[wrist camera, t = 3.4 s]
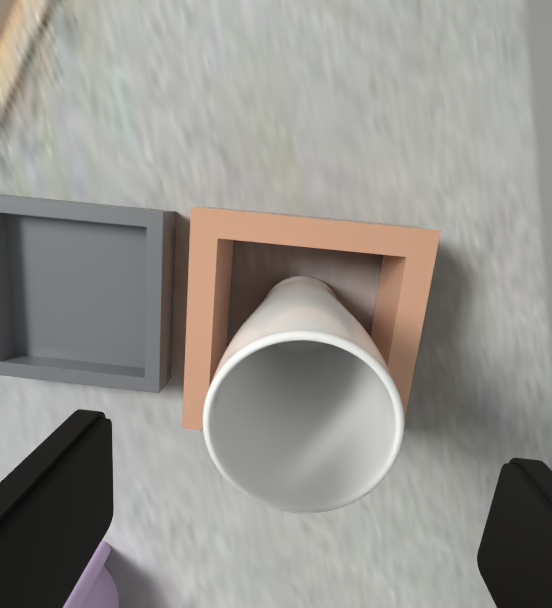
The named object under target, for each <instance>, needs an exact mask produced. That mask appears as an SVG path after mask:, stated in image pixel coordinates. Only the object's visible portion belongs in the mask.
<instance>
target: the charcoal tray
mask: <svg viewBox="0 0 552 608" xmlns="http://www.w3.org/2000/svg"><path fill="white" fill-rule="evenodd" d="M175 220H176V212H175V211H165V210H155V209H144V208H134V207H124V206H113V205H103V204H93V203H82V202H72V201H61V200H51V199H41V198H30V197H20V196H10V195H0V375H4V376H12V377H21V378H30V379H39V380H48V381H57V382H65V383H74V384H83V385H92V386H101V387H110V388H119V389H127V390H136V391H145V392H154V393H159V392H160V391H161V390H162V388H163V387H164V386H165V384H166V383H167V382H168V381H169V379H170V378H171V351H172V318H173V285H174V253H175Z"/></svg>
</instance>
